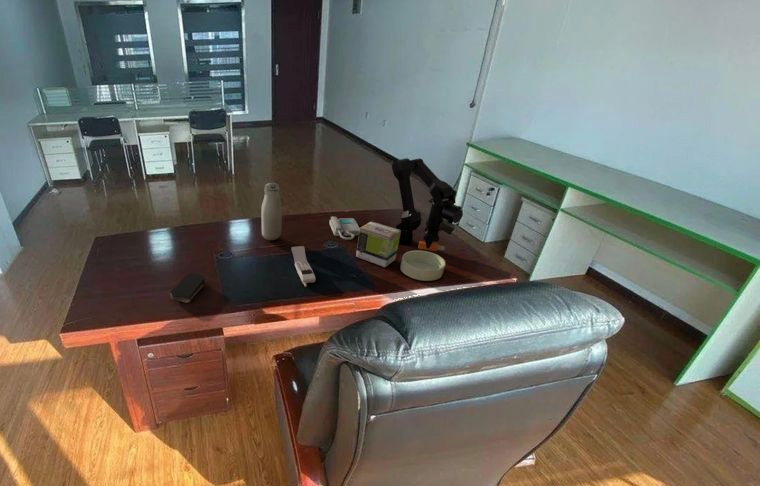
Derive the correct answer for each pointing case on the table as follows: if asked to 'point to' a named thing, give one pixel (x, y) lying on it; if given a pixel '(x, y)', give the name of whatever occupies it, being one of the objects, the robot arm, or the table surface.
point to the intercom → (344, 227)
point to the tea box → (378, 243)
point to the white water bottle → (271, 212)
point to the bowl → (422, 265)
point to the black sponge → (187, 287)
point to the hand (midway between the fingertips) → (428, 246)
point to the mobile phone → (303, 265)
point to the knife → (433, 246)
